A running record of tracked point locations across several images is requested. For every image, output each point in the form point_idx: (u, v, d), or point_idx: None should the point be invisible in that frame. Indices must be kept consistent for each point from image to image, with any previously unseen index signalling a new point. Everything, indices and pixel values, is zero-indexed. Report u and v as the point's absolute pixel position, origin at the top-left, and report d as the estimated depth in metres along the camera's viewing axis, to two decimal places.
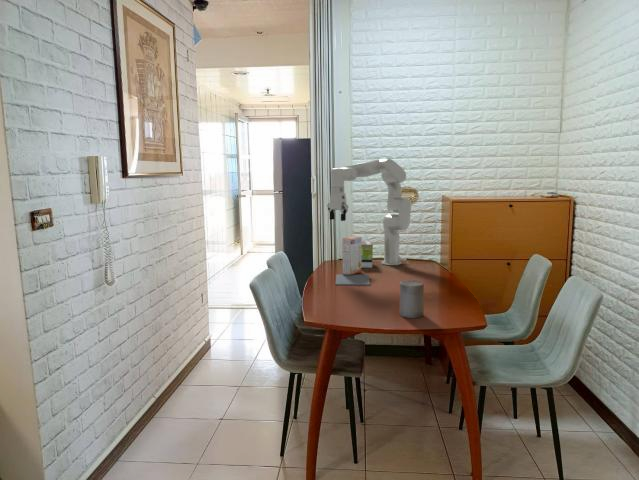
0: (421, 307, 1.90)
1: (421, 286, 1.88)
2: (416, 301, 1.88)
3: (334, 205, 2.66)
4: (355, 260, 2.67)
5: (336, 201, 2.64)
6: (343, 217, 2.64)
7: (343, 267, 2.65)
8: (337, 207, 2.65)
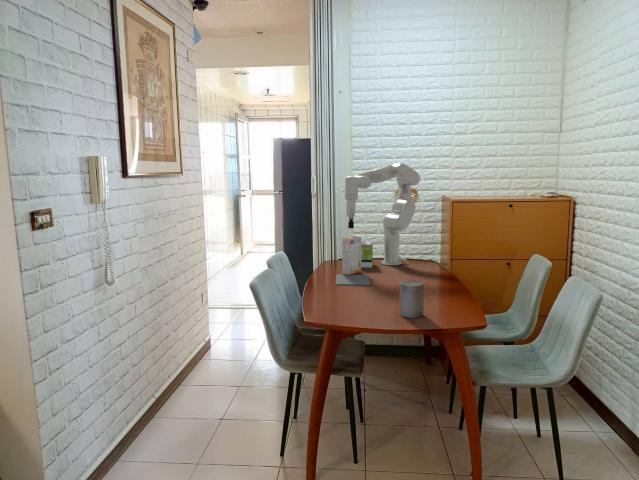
0: (421, 307, 1.90)
1: (421, 286, 1.88)
2: (416, 301, 1.88)
3: None
4: (355, 260, 2.67)
5: None
6: None
7: (343, 267, 2.65)
8: None
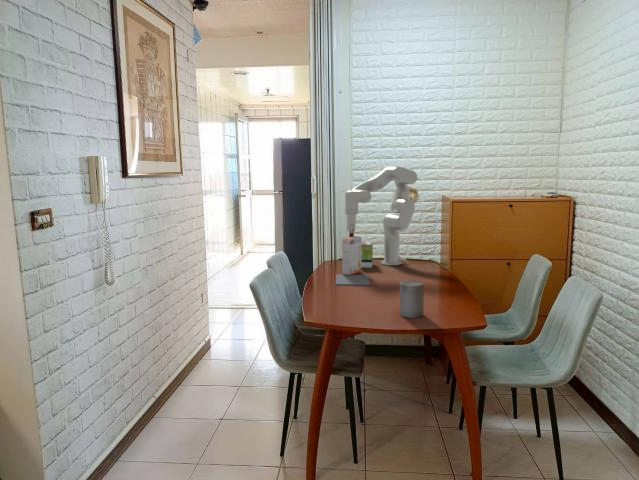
0: (421, 307, 1.90)
1: (421, 286, 1.88)
2: (416, 301, 1.88)
3: None
4: (355, 260, 2.67)
5: None
6: None
7: (343, 267, 2.65)
8: None
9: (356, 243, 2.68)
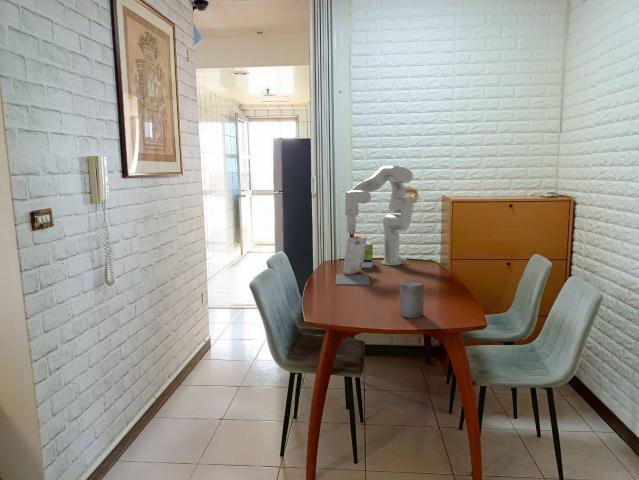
0: (421, 307, 1.90)
1: (421, 286, 1.88)
2: (416, 301, 1.88)
3: None
4: (357, 261, 2.67)
5: None
6: None
7: (344, 266, 2.65)
8: None
9: (361, 244, 2.67)
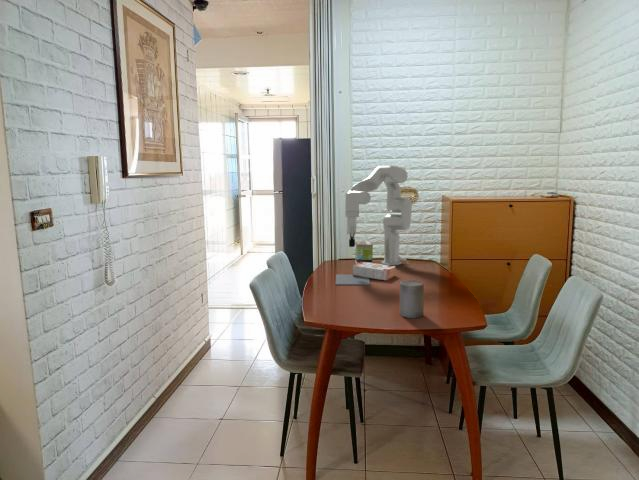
0: (421, 307, 1.90)
1: (421, 286, 1.88)
2: (416, 301, 1.88)
3: None
4: None
5: None
6: None
7: (358, 267, 2.60)
8: None
9: None
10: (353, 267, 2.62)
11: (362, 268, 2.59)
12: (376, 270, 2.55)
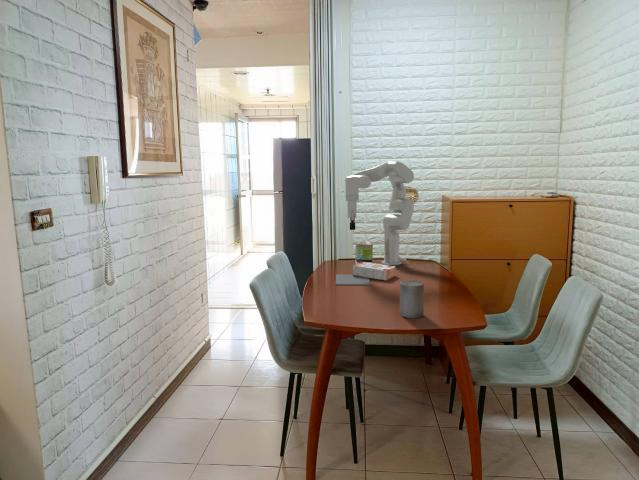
0: (421, 307, 1.90)
1: (421, 286, 1.88)
2: (416, 301, 1.88)
3: None
4: None
5: None
6: None
7: (358, 267, 2.60)
8: None
9: None
10: (353, 267, 2.62)
11: (362, 268, 2.59)
12: (376, 270, 2.55)
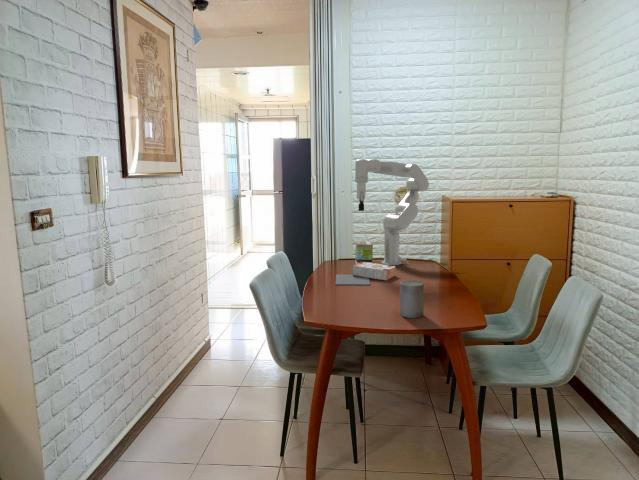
0: (421, 307, 1.90)
1: (421, 286, 1.88)
2: (416, 301, 1.88)
3: None
4: None
5: None
6: None
7: (358, 267, 2.60)
8: None
9: None
10: (353, 267, 2.62)
11: (362, 268, 2.59)
12: (376, 270, 2.55)
